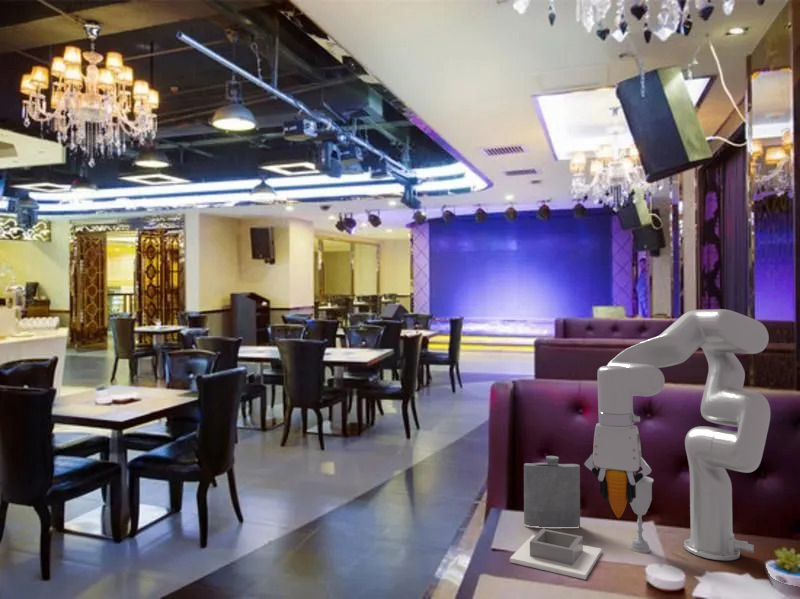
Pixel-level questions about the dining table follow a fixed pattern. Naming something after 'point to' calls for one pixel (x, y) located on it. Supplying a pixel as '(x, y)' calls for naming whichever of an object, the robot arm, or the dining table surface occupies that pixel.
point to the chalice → (641, 511)
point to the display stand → (557, 554)
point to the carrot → (617, 490)
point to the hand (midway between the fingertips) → (618, 498)
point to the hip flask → (552, 494)
